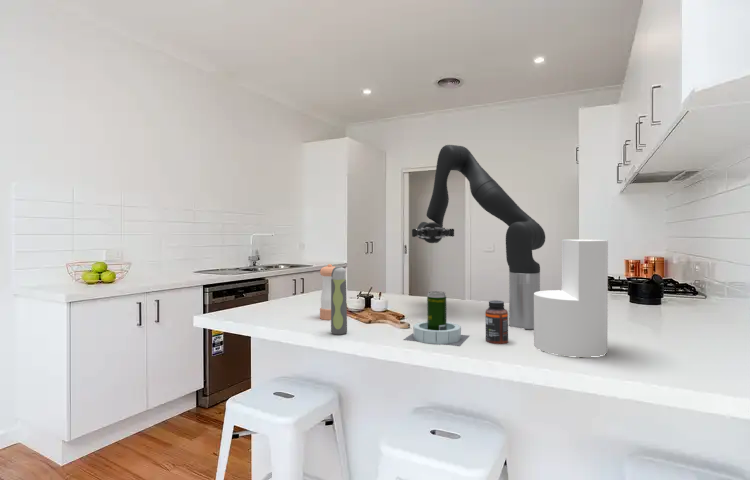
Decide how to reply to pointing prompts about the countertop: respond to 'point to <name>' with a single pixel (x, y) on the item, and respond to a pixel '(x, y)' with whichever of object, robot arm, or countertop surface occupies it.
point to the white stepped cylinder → (575, 303)
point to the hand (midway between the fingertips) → (433, 232)
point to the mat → (459, 343)
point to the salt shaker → (326, 292)
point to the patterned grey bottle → (338, 302)
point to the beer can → (436, 311)
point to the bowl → (437, 333)
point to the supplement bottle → (496, 323)
